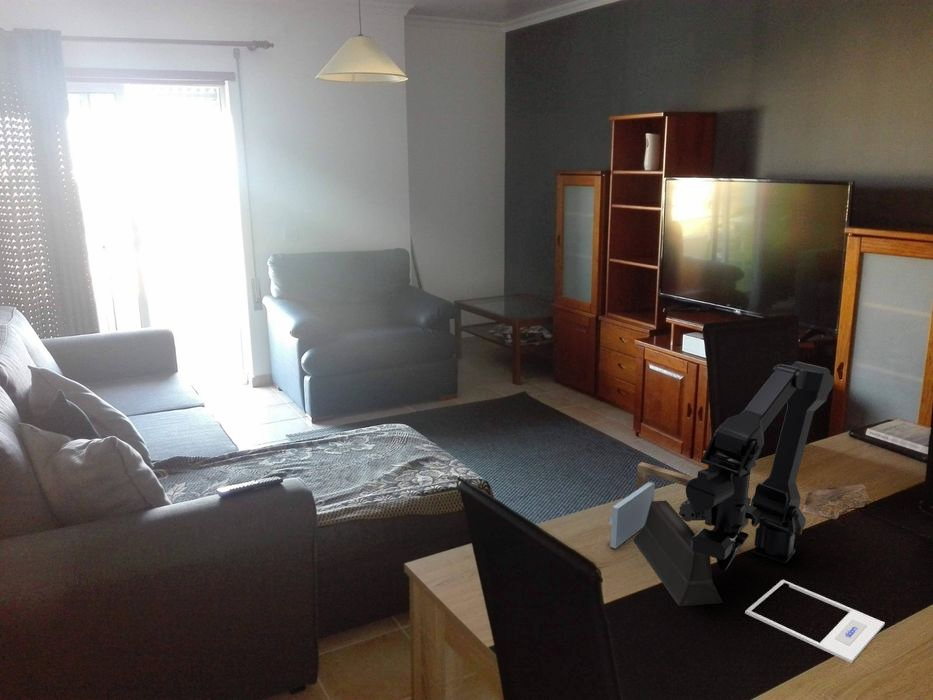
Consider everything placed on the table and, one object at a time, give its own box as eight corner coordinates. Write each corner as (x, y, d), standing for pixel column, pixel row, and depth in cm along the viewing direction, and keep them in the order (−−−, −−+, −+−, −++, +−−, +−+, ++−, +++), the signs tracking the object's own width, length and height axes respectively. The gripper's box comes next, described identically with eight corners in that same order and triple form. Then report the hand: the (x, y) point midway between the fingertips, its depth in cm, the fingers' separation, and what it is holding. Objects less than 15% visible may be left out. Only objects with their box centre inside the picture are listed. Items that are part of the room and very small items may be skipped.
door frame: (739, 548, 154) (745, 492, 151) (735, 552, 152) (742, 496, 149) (638, 513, 168) (641, 461, 165) (633, 516, 167) (637, 464, 164)
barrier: (723, 604, 136) (729, 554, 133) (678, 607, 134) (682, 558, 132) (671, 538, 158) (675, 495, 156) (631, 541, 157) (635, 497, 154)
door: (641, 516, 166) (644, 479, 164) (651, 520, 165) (655, 482, 162) (604, 544, 154) (606, 504, 152) (615, 548, 153) (618, 508, 150)
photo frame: (852, 659, 120) (745, 609, 132) (851, 665, 120) (744, 615, 133) (884, 621, 129) (782, 578, 142) (883, 627, 130) (782, 583, 142)
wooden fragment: (825, 524, 164) (826, 520, 164) (781, 505, 173) (782, 501, 173) (890, 497, 178) (890, 493, 178) (846, 480, 187) (846, 476, 187)
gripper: (708, 465, 147) (701, 536, 151) (666, 497, 134) (659, 575, 138) (766, 481, 141) (756, 555, 145) (727, 517, 127) (719, 598, 131)
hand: (722, 569), depth 140 cm, fingers closed
